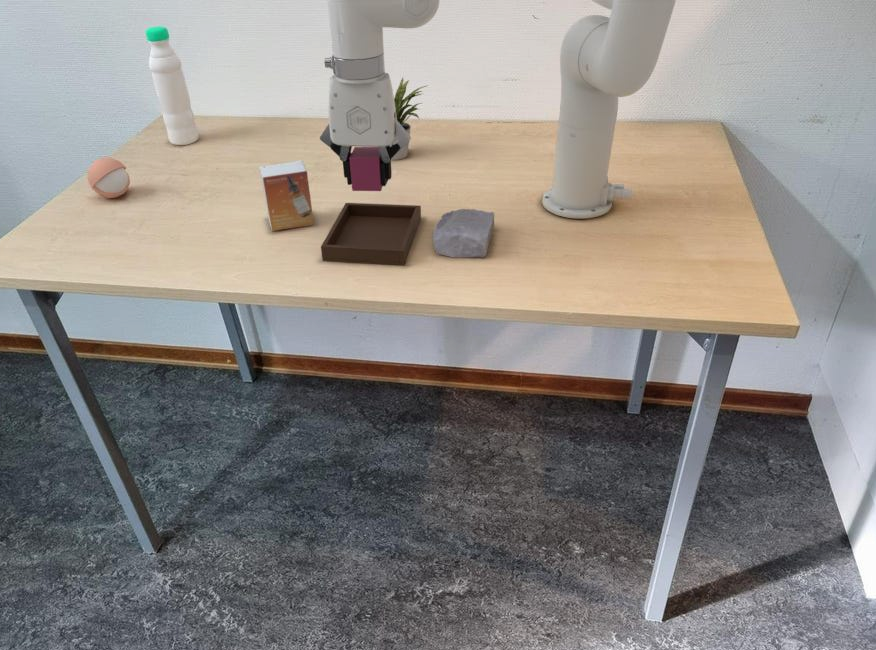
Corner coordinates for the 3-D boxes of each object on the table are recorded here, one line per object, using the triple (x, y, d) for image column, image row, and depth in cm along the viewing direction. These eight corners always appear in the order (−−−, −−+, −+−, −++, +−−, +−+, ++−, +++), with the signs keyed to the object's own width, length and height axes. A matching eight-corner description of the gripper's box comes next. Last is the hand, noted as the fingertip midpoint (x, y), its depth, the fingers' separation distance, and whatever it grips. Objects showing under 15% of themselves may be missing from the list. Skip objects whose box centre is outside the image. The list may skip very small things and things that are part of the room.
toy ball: (111, 207, 133) (97, 169, 128) (87, 199, 136) (73, 162, 131) (142, 192, 138) (131, 155, 133) (118, 185, 141) (106, 148, 136)
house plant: (424, 171, 139) (422, 90, 129) (360, 170, 141) (352, 91, 131) (432, 145, 150) (431, 69, 139) (372, 145, 152) (367, 70, 142)
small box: (271, 232, 121) (261, 177, 114) (268, 219, 125) (257, 165, 118) (314, 225, 122) (307, 170, 115) (310, 212, 126) (302, 159, 120)
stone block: (432, 265, 112) (491, 258, 109) (426, 239, 109) (486, 232, 106) (444, 234, 121) (498, 227, 118) (438, 210, 119) (493, 202, 115)
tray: (421, 219, 122) (420, 205, 120) (404, 265, 109) (403, 250, 107) (347, 216, 124) (345, 202, 122) (322, 261, 112) (320, 246, 110)
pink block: (385, 179, 112) (383, 146, 109) (381, 191, 108) (378, 158, 105) (357, 179, 113) (354, 146, 109) (352, 191, 109) (349, 158, 106)
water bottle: (169, 138, 162) (139, 26, 147) (198, 133, 164) (171, 22, 148) (170, 148, 157) (139, 33, 141) (200, 143, 158) (172, 29, 143)
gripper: (297, 73, 97) (312, 189, 109) (411, 74, 94) (414, 193, 106) (312, 59, 103) (325, 171, 114) (419, 60, 100) (422, 174, 111)
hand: (368, 181), depth 110 cm, fingers closed on pink block, 5 cm apart
